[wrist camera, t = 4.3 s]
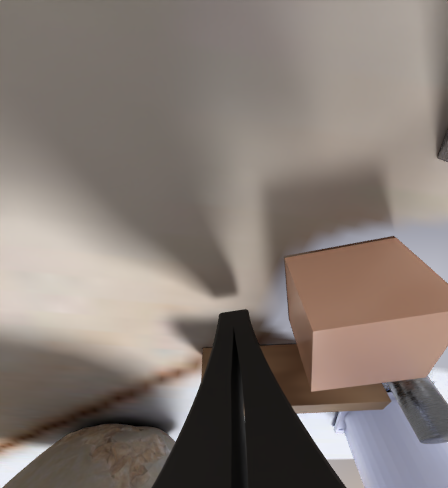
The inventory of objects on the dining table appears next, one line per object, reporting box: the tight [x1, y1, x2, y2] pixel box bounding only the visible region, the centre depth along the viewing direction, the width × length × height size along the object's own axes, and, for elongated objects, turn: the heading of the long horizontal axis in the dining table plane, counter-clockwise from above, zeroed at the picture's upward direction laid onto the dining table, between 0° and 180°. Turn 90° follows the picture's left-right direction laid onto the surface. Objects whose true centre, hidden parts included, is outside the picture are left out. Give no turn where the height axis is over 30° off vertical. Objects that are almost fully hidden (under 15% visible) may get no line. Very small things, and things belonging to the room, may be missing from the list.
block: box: [285, 236, 448, 392], centre depth 10 cm, size 5×5×4 cm
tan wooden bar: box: [201, 344, 392, 416], centre depth 14 cm, size 10×1×4 cm, turn 91°
